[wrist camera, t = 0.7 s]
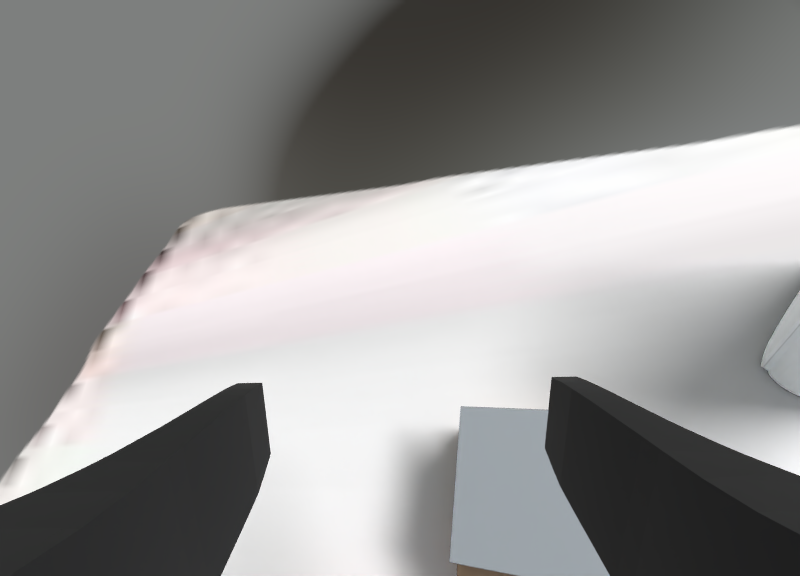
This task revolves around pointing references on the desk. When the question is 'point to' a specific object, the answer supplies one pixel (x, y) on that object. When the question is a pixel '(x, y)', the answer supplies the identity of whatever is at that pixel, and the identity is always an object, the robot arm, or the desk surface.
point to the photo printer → (785, 350)
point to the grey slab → (514, 500)
